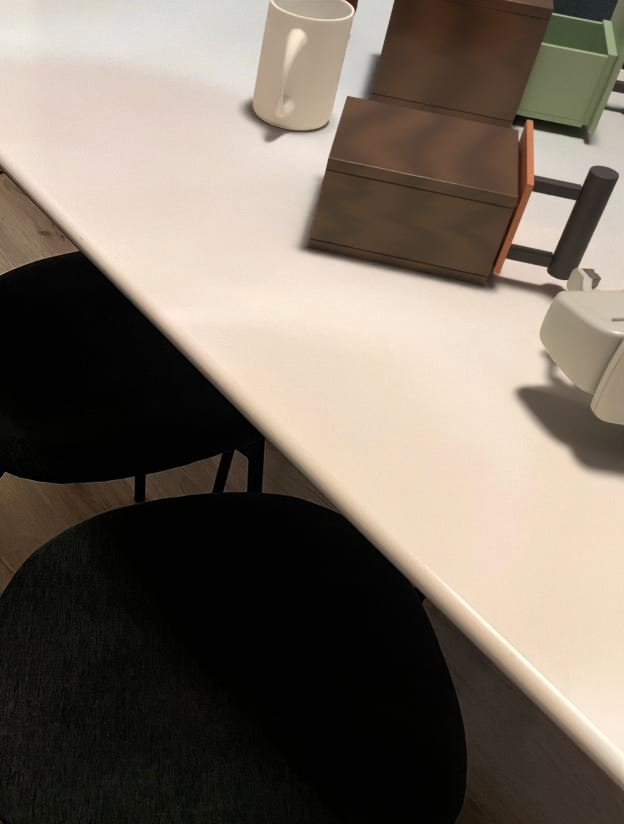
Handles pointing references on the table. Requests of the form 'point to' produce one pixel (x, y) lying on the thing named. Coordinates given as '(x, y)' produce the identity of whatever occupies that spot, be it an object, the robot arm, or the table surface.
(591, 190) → the orange drawer
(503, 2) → the wooden drawer cabinet
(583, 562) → the table surface
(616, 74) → the green drawer
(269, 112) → the mug
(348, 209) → the cubby low
